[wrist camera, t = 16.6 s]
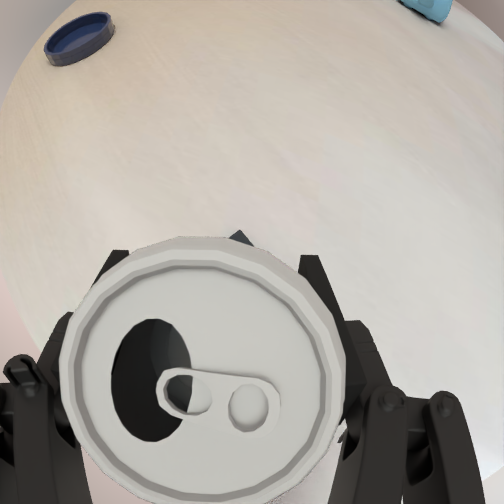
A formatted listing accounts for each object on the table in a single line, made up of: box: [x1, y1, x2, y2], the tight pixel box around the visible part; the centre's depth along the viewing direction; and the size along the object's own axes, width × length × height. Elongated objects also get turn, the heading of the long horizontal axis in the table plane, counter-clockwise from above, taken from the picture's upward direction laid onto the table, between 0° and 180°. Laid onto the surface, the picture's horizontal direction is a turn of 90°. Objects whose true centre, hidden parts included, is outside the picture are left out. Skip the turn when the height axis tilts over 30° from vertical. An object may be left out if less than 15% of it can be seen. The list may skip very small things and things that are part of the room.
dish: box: [44, 12, 114, 66], centre depth 29 cm, size 11×11×2 cm
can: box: [59, 237, 346, 504], centre depth 11 cm, size 8×8×12 cm
